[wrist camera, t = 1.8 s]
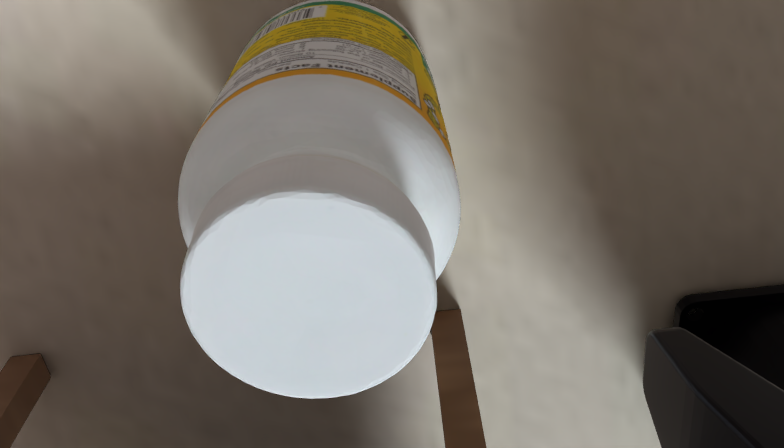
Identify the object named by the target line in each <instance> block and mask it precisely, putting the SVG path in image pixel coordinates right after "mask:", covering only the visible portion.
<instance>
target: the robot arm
mask: <svg viewBox="0 0 784 448" xmlns="http://www.w3.org/2000/svg"><path fill="white" fill-rule="evenodd" d="M695 308H698V310H697V311H695V312H694V313H691V314H688V313H689V312H690V311H691V310H692V309H695ZM643 388H644V394H645V398H646V401H647V404H648V407H649V410H650V413H651V416H652V419H653V423H654V426H655V429H656V432H657V435H658V438H659V441H660V444H661V447H662V448H784V285H777V286H767V287H758V288H748V289H739V290H730V291H720V292H711V293H701V294H692V295H688V296H685V297H684V298H682V299H681V300H680V301H679V302H678V303H677V305H676V308H675V315H674V325H673V328H665V329H655V330H652V331H650V332H649V333H648V335H647V338H646V345H645V358H644V371H643Z"/></svg>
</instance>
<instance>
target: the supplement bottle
mask: <svg viewBox="0 0 784 448" xmlns="http://www.w3.org/2000/svg"><path fill="white" fill-rule="evenodd" d="M460 210H461V205H460V192H459V186H458V181H457V175H456V171H455V166H454V162H453V158H452V154H451V147H450V144H449V140H448V135H447V132H446V128H445V124H444V120H443V116H442V113H441V108H440V104H439V100H438V96H437V92H436V88H435V84H434V80H433V77H432V74H431V72H430V69H429V67H428V64H427V62H426V59H425V57H424V54H423V53H422V51H421V49H420V47H419V45H418V43H417V42H416V40H415V39H414V38H413V36H412V35H411V34H410V32H409V31H408V30H407V29H406V28H405V27H404V26H403V25H402V24H401V23H399V22H398V21H397V20H396V19H394V18H393V17H391V16H390V15H389V14H387V13H386V12H384V11H382V10H380V9H378V8H376V7H373V6H371V5H368V4H365V3H362V2H358V1H355V0H310V1H305V2H302V3H299V4H296V5H294V6H291V7H289V8H287V9H285V10H283V11H281V12H280V13H278V14H276V15H275V16H274V17H272V18H271V19H269V20H268V21H267V22H266V23H265V24H264V25H263V26H262V27H261V28H260V29H259V30H258V31H257V32H256V33H255V34H254V36H253V37H252V38H251V40H250V41H249V42H248V44H247V45H246V47H245V48H244V50H243V51H242V53H241V55H240V57H239V59H238V61H237V63H236V64H235V66H234V68H233V70H232V72H231V74H230V76H229V78H228V80H227V82H226V84H225V85H224V87H223V89H222V90H221V92H220V94H219V96H218V97H217V99H216V101H215V103H214V104H213V106H212V108H211V110H210V111H209V113H208V115H207V117H206V118H205V120H204V122H203V124H202V126H201V127H200V129H199V131H198V133H197V135H196V137H195V139H194V140H193V142H192V144H191V147H190V149H189V151H188V153H187V156H186V158H185V161H184V164H183V168H182V171H181V175H180V181H179V190H178V211H179V219H180V225H181V229H182V233H183V237H184V240H185V243H186V245H187V247H188V250H187V253H186V256H185V259H184V262H183V266H182V271H181V277H180V298H181V305H182V309H183V313H184V316H185V319H186V321H187V324H188V326H189V328H190V331H191V333H192V334H193V336H194V338H195V339H196V340H197V342H198V343H199V345H200V346H201V347H202V349H203V350H204V351H205V352H206V353H207V354H208V356H209V357H210V358H211V359H212V360H213V361H214V362H216V363H217V364H218V365H219V366H220V367H222V368H223V369H224V370H226V371H227V372H228V373H230V374H231V375H233V376H235V377H236V378H238V379H240V380H241V381H243V382H245V383H247V384H250V385H252V386H254V387H256V388H259V389H262V390H265V391H268V392H271V393H274V394H279V395H284V396H290V397H296V398H309V399H314V398H333V397H339V396H346V395H351V394H355V393H358V392H361V391H363V390H366V389H368V388H371V387H373V386H375V385H377V384H380V383H382V382H383V381H385V380H387V379H388V378H390V377H391V376H393V375H395V374H396V373H397V372H399V371H400V370H401V369H402V368H403V367H404V366H405V365H406V364H408V363H409V362H410V361H411V359H412V358H413V357H414V356H415V355H416V354H417V352H418V351H419V350H420V348H421V347H422V345H423V343H424V342H425V340H426V338H427V336H428V334H429V332H430V329H431V327H432V323H433V320H434V316H435V312H436V308H437V285H436V280H437V279H438V277H439V276H440V275H441V273H442V271H443V270H444V268H445V266H446V264H447V262H448V260H449V258H450V256H451V254H452V251H453V249H454V246H455V242H456V239H457V235H458V230H459V224H460Z"/></svg>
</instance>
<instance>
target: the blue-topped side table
mask: <svg viewBox="0 0 784 448" xmlns="http://www.w3.org/2000/svg"><path fill="white" fill-rule="evenodd" d="M431 332H432V340H433V349H434V357H435V365H436V373H437V382H438V390H439V398H440V406H441V415H442V423H443V431H444V440H445V448H486V443H485V438H484V432H483V427H482V422H481V416H480V411H479V406H478V400H477V395H476V390H475V384H474V379H473V374H472V368H471V363H470V358H469V352H468V347H467V342H466V336H465V331H464V325H463V320H462V315H461V309H455V310H446V311H437V312H435V316H434V320H433V323H432V327H431ZM50 378H51V376H50V374H49V371H48V369H47V367H46V365H45V363H44V360H43V358H42V356H41V354H33V355H24V356H15V357H10V359H9V360H8V362H7V363H6V365H5V366H4V368H3V369H2V370H1V372H0V448H10V447H11V445H12V443H13V441H14V440H15V438H16V436H17V435H18V433H19V431H20V429H21V428H22V426H23V424H24V423H25V421H26V419H27V417H28V416H29V414H30V412H31V411H32V409H33V407H34V405H35V404H36V402H37V400H38V399H39V397H40V395H41V393H42V392H43V390H44V388H45V387H46V385H47V383H48V381H49V380H50Z"/></svg>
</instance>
